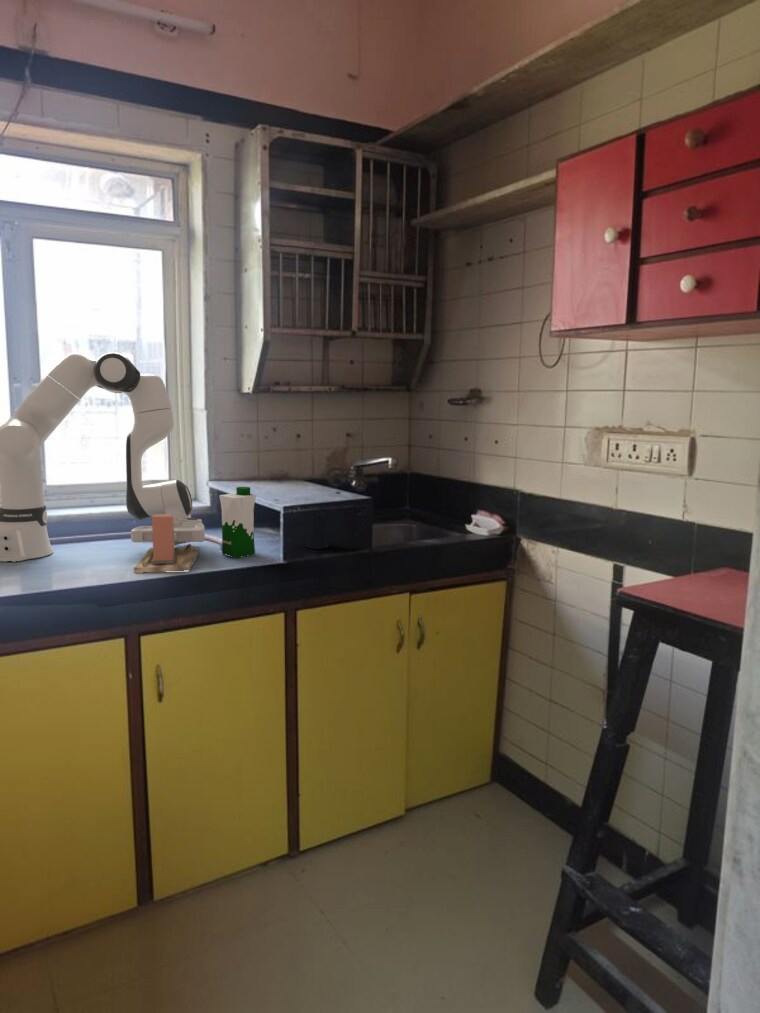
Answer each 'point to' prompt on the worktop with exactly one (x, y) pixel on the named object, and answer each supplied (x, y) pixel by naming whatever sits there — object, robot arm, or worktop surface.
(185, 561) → the tan flat ridged board
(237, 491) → the milk carton
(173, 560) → the salmon orange rectangular block
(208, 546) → the worktop surface
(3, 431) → the robot arm
